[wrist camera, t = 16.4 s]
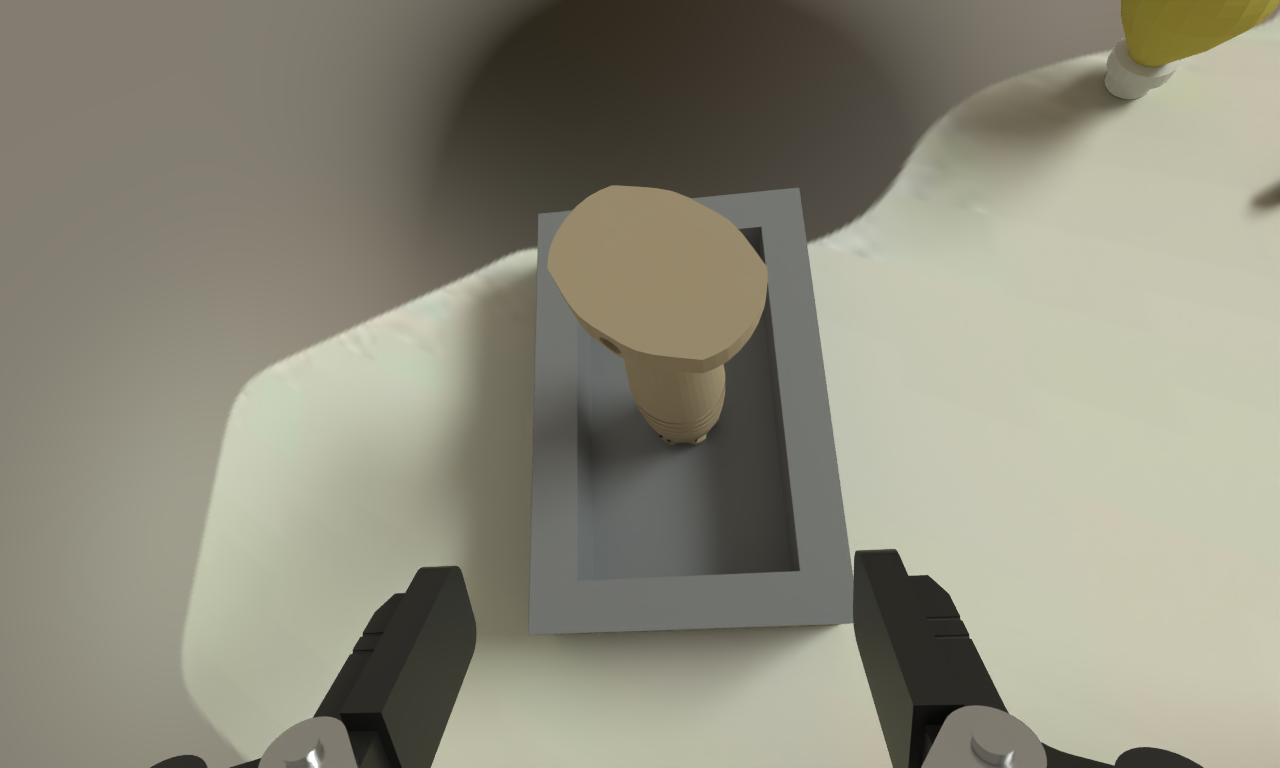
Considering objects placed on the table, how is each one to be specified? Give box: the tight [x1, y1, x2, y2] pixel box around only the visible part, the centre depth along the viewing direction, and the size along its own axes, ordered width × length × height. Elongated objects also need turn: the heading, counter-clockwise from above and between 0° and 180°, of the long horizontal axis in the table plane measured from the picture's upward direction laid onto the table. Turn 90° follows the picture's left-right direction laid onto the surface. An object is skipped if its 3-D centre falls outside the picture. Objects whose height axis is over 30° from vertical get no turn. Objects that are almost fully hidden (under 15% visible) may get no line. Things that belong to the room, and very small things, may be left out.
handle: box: [547, 185, 768, 446], centre depth 26 cm, size 5×6×15 cm
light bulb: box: [1104, 0, 1280, 99], centre depth 33 cm, size 7×7×10 cm
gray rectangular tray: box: [529, 188, 854, 635], centre depth 32 cm, size 20×13×4 cm, turn 2°
